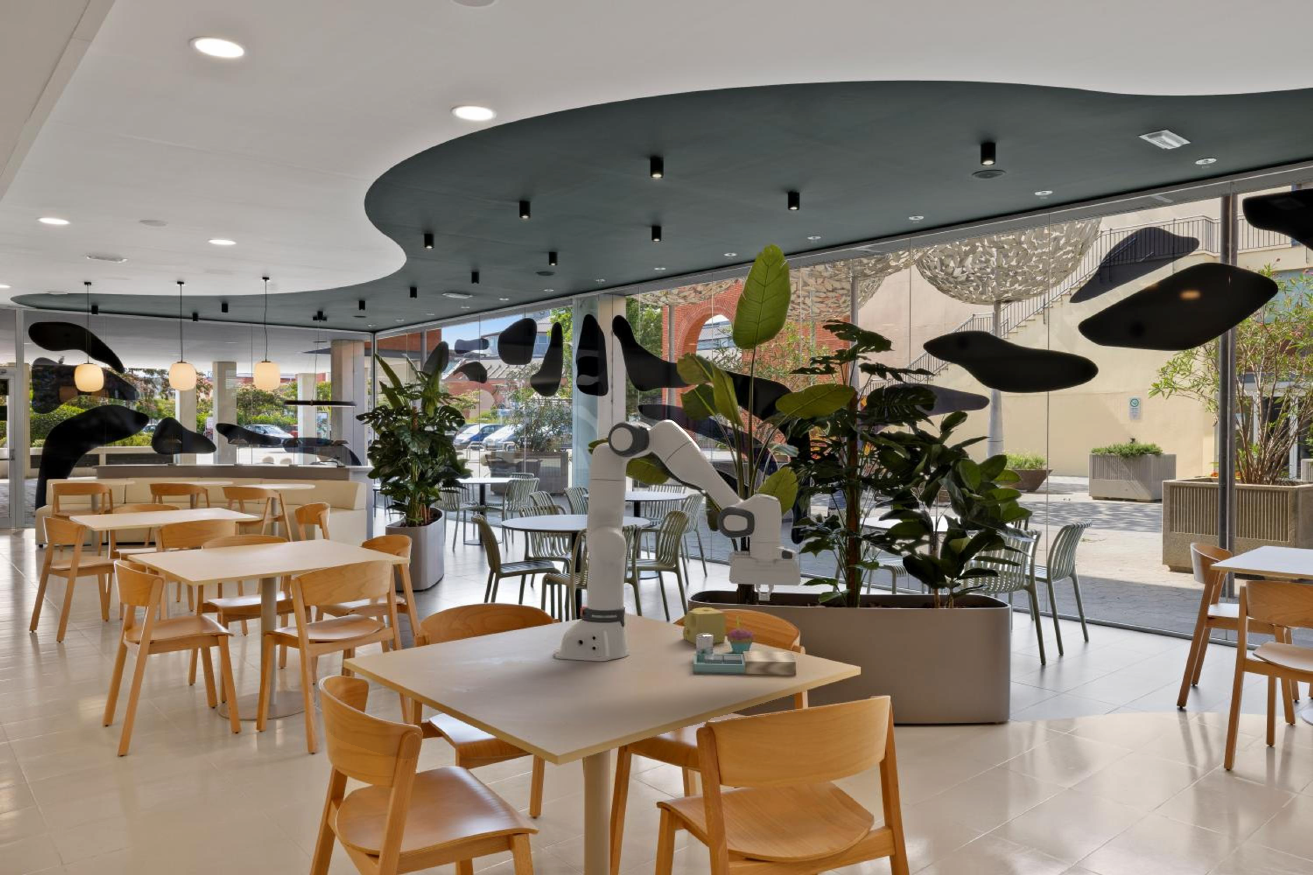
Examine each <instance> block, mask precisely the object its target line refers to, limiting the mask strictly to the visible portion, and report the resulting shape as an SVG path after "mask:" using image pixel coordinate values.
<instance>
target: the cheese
mask: <svg viewBox="0 0 1313 875" xmlns="http://www.w3.org/2000/svg"><path fill="white" fill-rule="evenodd" d="M726 620H727V618H726V613H725V612H724V611H723V610H722V611H721V610H719V609H716V608H713V607H710V606H709V607H705V606H704V607H703V606H702V607H696V608H693V609H692V610H689V611H687V613H686V615H684V617H683V624H684V625H683V626H684V627H683V629H682V637H683V640H685V641H688V642H690V643H693V644H694V645H696V635H697V634H700V633H708V634H713V644H717V643H725V640H726V636H727V634H726V633H727V621H726Z"/></svg>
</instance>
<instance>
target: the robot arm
mask: <svg viewBox="0 0 1313 875" xmlns="http://www.w3.org/2000/svg"><path fill="white" fill-rule="evenodd" d="M651 454H655V455H656V456H657V457H658V458H659V459H660V461H661V462H662V463H663V464H664V465H665V467H667V469H668V470H669V471H670V472H671V473H672V474H673V475H674V476H675V477H676V478H678V479H679V480H680V481H682V482H684V483H688V484H690V485H692V486H693V485H694V486H696V487H698V488H700V489H702V490H703V491H705V492H706V493H707V494H708V495H709V497H710V498H711V499H713V501H714V502H715V503H716V504H717V505H718V506H719V507H720V508H721V511H720V512H719V514H718V516H717V520H716V524H717V528H718V531H719V532H720V533H721V534H722V535H723V536H724V537H726V538H729V539H735V540H736V539H741V538H744V537H745V538H747V537H749V550H741V551H740V550H733V552H732V551H731V552H730V553H729V554H728V558H727V559H728V560H727V562H728V565H729V566H730V567H729V576H728V579H729V582H730V583H731V584H736V585H737V584H739V585H755V586H754V587H755V589H756V591H757V593H758V601H766V602H767V601H769V602H770V598H771V597H770V595H771V594H772V592H773V591H774V589H775V586H793V587H795V586H796V587H797V586H799V585H800V584H801V583H802V579H801V578H802V577H801V576H802V575H801V574H802V573H801V568H800V564H799V562H798V561H797V557H798V556H797V553H798V552H797V551H796V550H794V549H791V548H788V547H786V546H782V538H781V530H782V525H783V524H782V521H783V520H782V518H783V517H782V515H783V514H782V507H781V503H780V500H779V499H778V498H777V497H775V496H774V495H773V496H772V495H769V494H765V493H755V494H754V495H752V496H751V497H749V498H747V499H743V498H742V497H740V496H739V495H738V494H737V492H735V490H734V489H733V487H732V486H730V485H729V484H728V483H727V481H726V480H725V479H724V478H723V477H722V476H721V475H720V474H719V472H718V471H717V470H716V468H715V467H714V466H713V464H712V463H711V461H710V460H709V459H708V458H707V456H706V455H705V453H704V451H702V449H701V448H700V446H699V445H698V444H697V442H696V441H694V439H693V438H692V437H691V436H690V435H689V433H687V432H686V431H685V430H684V429H683V428H682V427H681V426H680V425H678V423H676V422H675V421H673V420H671V419H663V420H661V421H659V422H657V423H656V424H654V425H652V424H650V423H648V422H646V421H644V422H643V421H640V420H629V421H628V420H625V421H621V422H618V423H616V424H615V425H613V426H612V428H611V429H610V431H609V432H608V434H607V442H602V443H599V444H598V445H596V446H595V447H594V449H593V451H592V455H591V460H590V465H589V475H588V476H589V481H588V506H587V507H588V508H587V517H586V519H587V520H586V532H585V535H586V536H585V545H586V548H587V551H588V570H587V572H588V574H587V584H586V587H587V588H586V589H587V590H586V592H587V593H586V594H587V595H586V600H587V602H586V603H587V604H586V605H583V606H582V607H581V608H580V616H579V617H580V620H579V621H577V622H576V623H574V625H572V626H571V627H570V628H568V629H567V630H566V631H565V632H564V634H563V636H562V639H561V644H560V646H558V647H557V648H555V649H554V651H553V657H554V658H556V659H560V660H576V661H587V662H588V661H591V662H593V661H594V662H607V661H609V660H614V659H621V658H625V657H627V656H628V655H629V654H630V652H629V650H628V649H629V648H628V645H627V639H626V633H625V632H626V630H625V626H626V614H627V612H626V607H625V604H624V602H625V600H624V599H625V596H624V593H625V592H624V590H625V574H626V573H625V572H626V559H627V541H626V537H625V536H624V534H623V522H624V514H625V509H626V484H627V481H626V480H627V478H626V477H627V476H626V475H627V466H628V463H629V462H630V460H631V461H634V460H638V459H641V458H645V457H647V456H650V455H651ZM762 585H763V586H764V585H768V586H767V588H768V591H767V593H762V592H761V590H760V589H761V586H762Z"/></svg>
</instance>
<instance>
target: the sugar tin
mask: <svg viewBox="0 0 1313 875" xmlns="http://www.w3.org/2000/svg"><path fill="white" fill-rule="evenodd" d="M695 645H696V648H695V649H696V650H695V651H696V652H695V654H714V643H713V634H708V633H700V634H697V635H696V644H695Z"/></svg>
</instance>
